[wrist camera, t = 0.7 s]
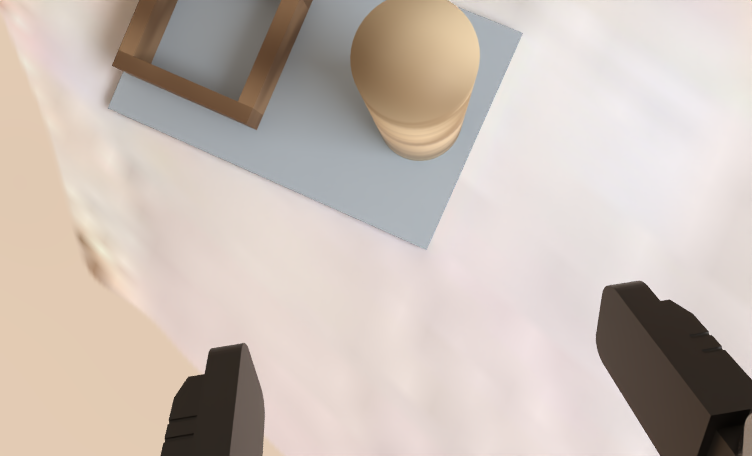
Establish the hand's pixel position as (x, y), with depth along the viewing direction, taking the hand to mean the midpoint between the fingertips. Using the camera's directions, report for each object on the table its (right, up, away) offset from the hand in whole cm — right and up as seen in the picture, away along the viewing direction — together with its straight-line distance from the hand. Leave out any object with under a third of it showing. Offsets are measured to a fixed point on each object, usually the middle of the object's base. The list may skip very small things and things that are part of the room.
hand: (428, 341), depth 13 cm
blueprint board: (-5, +12, +23) cm, 26 cm away
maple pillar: (+2, +9, +21) cm, 23 cm away
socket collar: (-11, +14, +23) cm, 29 cm away
